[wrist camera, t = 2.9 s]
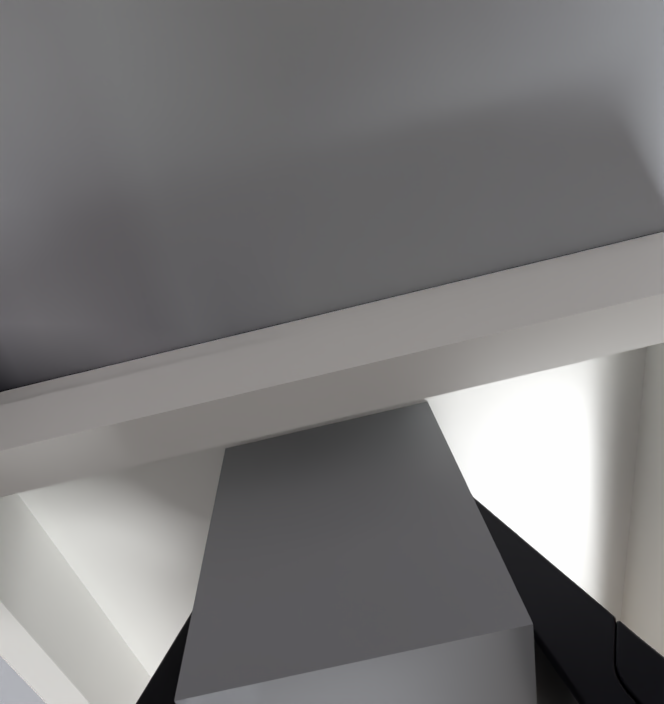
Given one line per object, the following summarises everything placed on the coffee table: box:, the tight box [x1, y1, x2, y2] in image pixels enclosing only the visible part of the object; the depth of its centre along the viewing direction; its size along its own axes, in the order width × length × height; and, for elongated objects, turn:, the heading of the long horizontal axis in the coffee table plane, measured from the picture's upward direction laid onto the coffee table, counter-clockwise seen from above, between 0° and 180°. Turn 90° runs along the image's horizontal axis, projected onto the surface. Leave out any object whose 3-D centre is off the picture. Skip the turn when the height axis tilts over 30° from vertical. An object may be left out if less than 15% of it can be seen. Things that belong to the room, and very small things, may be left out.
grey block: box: [174, 401, 537, 704], centre depth 8 cm, size 4×5×4 cm
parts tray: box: [0, 232, 664, 704], centre depth 11 cm, size 14×15×2 cm
